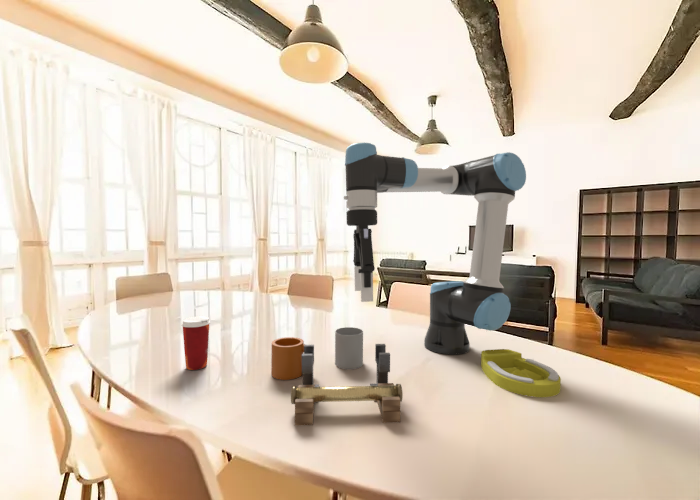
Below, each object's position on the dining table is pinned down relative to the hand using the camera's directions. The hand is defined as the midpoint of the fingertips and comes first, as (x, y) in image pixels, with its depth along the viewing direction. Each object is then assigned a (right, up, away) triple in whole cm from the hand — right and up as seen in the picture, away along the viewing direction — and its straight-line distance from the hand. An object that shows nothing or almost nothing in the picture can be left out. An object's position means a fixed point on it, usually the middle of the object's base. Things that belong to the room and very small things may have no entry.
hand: (363, 295), depth 79 cm
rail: (-4, -21, -10) cm, 24 cm away
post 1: (-13, -24, -2) cm, 27 cm away
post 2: (+5, -24, -1) cm, 24 cm away
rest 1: (-13, -24, -11) cm, 29 cm away
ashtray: (+42, -25, +8) cm, 49 cm away
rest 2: (+5, -24, -9) cm, 27 cm away
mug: (-19, -24, +10) cm, 32 cm away
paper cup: (-48, -23, +15) cm, 56 cm away
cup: (-4, -23, +18) cm, 29 cm away
